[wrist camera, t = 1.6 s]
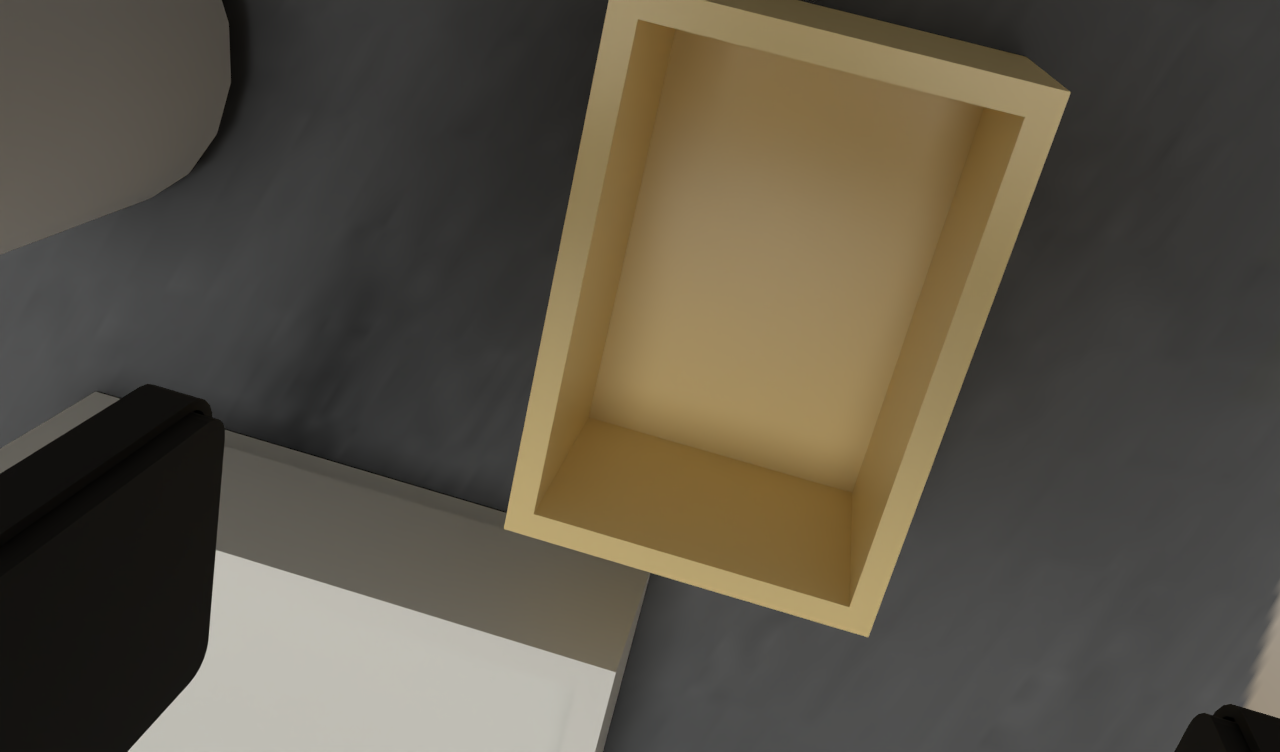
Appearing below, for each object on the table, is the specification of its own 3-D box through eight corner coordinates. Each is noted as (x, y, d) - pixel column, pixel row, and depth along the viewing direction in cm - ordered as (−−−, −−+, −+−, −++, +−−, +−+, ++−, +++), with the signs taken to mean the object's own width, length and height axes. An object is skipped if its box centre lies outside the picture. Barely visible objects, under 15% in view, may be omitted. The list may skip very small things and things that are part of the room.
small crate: (667, -33, 22) (612, -23, 17) (1026, 57, 21) (1070, 92, 16) (568, 421, 26) (503, 528, 21) (867, 507, 25) (867, 636, 20)
